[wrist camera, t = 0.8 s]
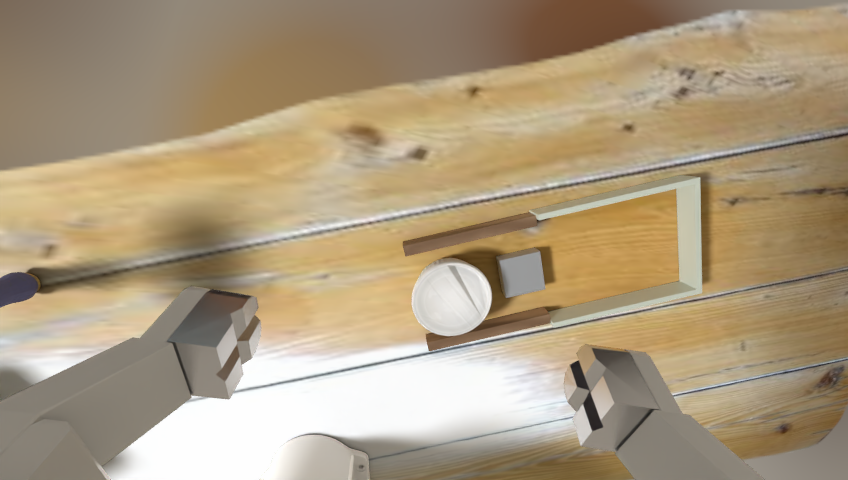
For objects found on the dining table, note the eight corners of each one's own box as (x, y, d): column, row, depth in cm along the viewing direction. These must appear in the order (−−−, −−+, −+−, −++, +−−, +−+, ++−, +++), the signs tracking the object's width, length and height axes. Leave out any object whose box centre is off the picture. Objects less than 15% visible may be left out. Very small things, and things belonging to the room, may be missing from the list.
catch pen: (684, 284, 58) (702, 293, 55) (544, 316, 58) (553, 327, 54) (681, 175, 53) (700, 177, 50) (529, 210, 53) (538, 214, 50)
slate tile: (539, 282, 57) (545, 289, 54) (501, 291, 57) (506, 298, 54) (534, 246, 55) (540, 251, 53) (495, 255, 55) (499, 260, 53)
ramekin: (497, 269, 55) (507, 282, 50) (462, 330, 58) (469, 348, 53) (431, 239, 53) (434, 249, 48) (398, 302, 56) (398, 318, 51)
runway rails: (544, 315, 58) (551, 322, 55) (427, 342, 58) (429, 351, 55) (529, 212, 53) (535, 215, 51) (402, 241, 53) (403, 246, 51)
